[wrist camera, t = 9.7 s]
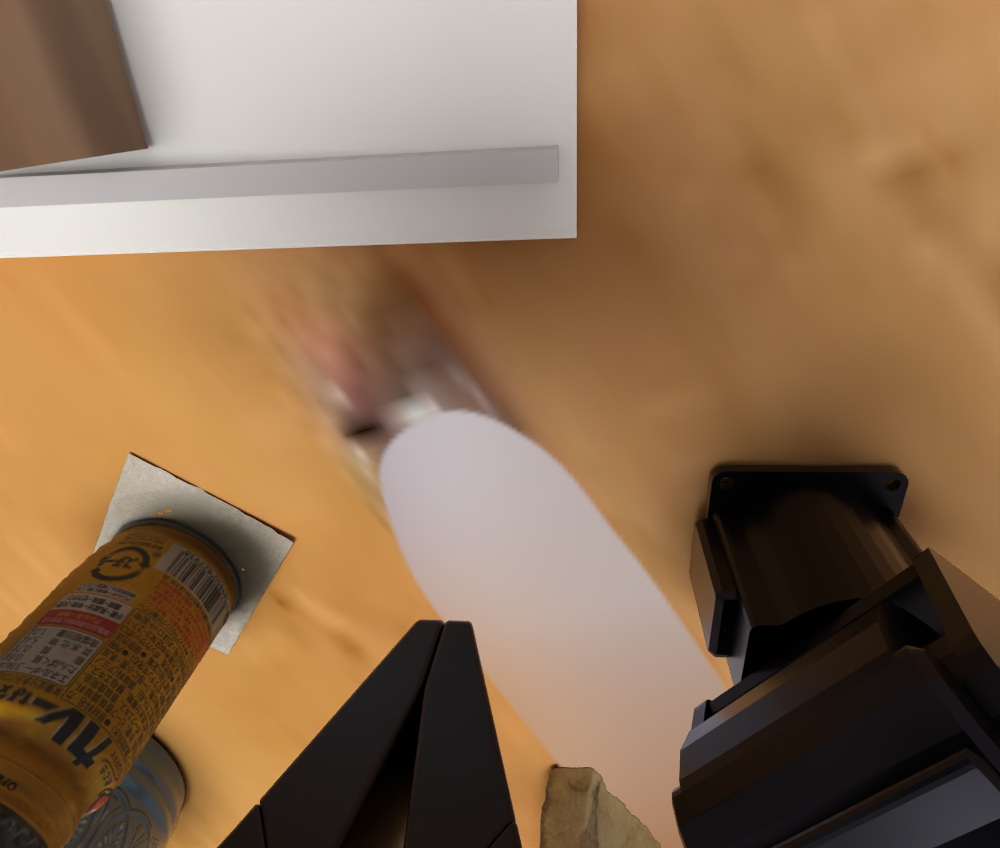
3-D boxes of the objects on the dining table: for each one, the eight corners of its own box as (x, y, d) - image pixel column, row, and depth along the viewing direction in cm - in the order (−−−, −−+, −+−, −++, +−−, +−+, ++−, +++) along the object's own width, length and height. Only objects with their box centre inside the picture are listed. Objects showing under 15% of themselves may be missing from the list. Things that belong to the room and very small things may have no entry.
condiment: (83, 580, 29) (-196, 865, 18) (131, 450, 25) (-187, 715, 15) (230, 651, 30) (47, 954, 20) (296, 537, 26) (114, 838, 16)
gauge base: (577, -275, 14) (580, -489, 9) (576, 230, 19) (578, 286, 14) (-298, -163, 17) (-695, -275, 11) (-91, 255, 22) (-300, 309, 17)
